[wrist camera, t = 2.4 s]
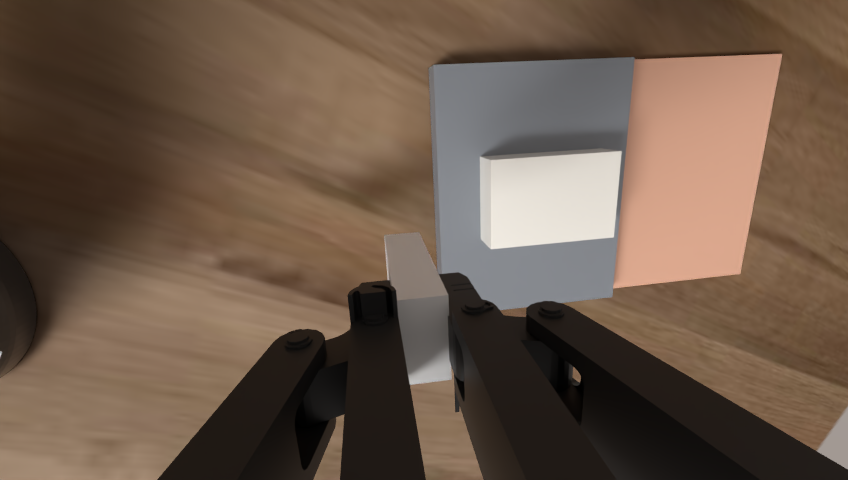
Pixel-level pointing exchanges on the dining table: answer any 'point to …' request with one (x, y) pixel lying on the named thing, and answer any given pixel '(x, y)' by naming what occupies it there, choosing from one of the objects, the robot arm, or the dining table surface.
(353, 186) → the dining table surface
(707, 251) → the mat
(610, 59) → the grey slab
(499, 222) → the tile
